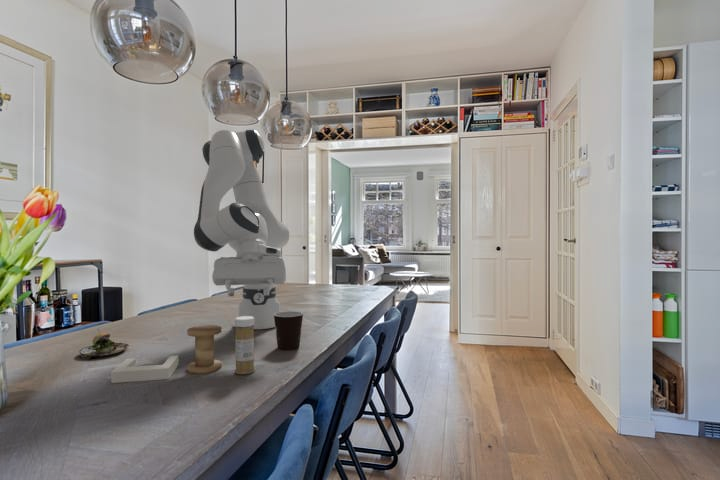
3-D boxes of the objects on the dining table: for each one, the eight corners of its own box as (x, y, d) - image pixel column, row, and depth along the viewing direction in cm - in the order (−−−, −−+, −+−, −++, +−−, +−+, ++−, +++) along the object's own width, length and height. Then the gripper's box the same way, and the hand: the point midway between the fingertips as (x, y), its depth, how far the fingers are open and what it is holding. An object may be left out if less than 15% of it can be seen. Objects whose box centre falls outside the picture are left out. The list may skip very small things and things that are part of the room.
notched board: (127, 368, 99) (127, 358, 99) (178, 365, 102) (178, 355, 102) (111, 383, 89) (111, 372, 89) (168, 378, 92) (168, 368, 92)
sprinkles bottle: (253, 368, 100) (253, 314, 99) (255, 374, 95) (255, 318, 95) (234, 370, 98) (234, 316, 98) (235, 376, 94) (235, 319, 94)
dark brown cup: (297, 352, 113) (297, 317, 113) (269, 350, 115) (268, 316, 115) (310, 341, 125) (310, 310, 124) (284, 340, 126) (284, 309, 126)
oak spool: (190, 364, 102) (190, 325, 102) (223, 362, 104) (223, 324, 104) (184, 375, 95) (184, 333, 94) (219, 372, 96) (219, 331, 96)
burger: (85, 363, 104) (85, 335, 104) (73, 354, 112) (73, 328, 112) (135, 353, 113) (135, 327, 113) (120, 346, 121) (120, 321, 121)
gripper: (213, 250, 114) (207, 288, 104) (285, 249, 117) (285, 286, 108) (216, 264, 118) (210, 302, 109) (286, 263, 122) (286, 300, 112)
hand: (248, 294), depth 108 cm, fingers open, 8 cm apart
